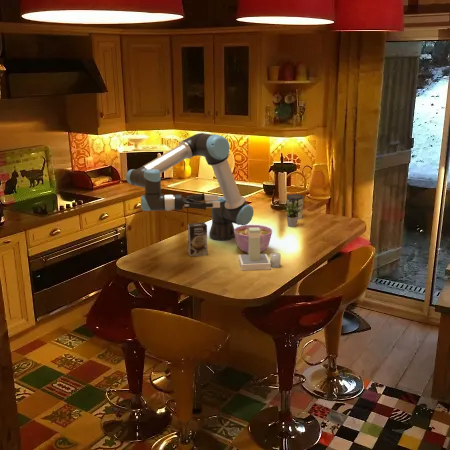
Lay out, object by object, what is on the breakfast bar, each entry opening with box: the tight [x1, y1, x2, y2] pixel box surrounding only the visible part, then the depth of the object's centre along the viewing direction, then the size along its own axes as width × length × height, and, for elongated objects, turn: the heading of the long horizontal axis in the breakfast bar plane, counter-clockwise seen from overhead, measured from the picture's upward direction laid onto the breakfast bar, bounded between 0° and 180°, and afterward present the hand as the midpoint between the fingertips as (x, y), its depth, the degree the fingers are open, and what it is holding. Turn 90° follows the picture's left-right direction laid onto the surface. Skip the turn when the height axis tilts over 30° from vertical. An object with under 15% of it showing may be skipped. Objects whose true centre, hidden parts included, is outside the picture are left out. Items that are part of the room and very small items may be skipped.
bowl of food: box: [234, 224, 273, 254], centre depth 281 cm, size 20×20×12 cm
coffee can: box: [286, 193, 304, 220], centre depth 342 cm, size 10×10×14 cm
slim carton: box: [247, 227, 261, 260], centre depth 260 cm, size 5×5×15 cm
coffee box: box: [187, 222, 208, 257], centre depth 277 cm, size 9×6×16 cm
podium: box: [238, 253, 272, 272], centre depth 263 cm, size 14×14×3 cm
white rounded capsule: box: [269, 252, 282, 269], centre depth 261 cm, size 5×5×6 cm
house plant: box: [282, 200, 304, 228], centre depth 322 cm, size 14×14×16 cm
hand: (219, 200), depth 256 cm, fingers open, 13 cm apart
